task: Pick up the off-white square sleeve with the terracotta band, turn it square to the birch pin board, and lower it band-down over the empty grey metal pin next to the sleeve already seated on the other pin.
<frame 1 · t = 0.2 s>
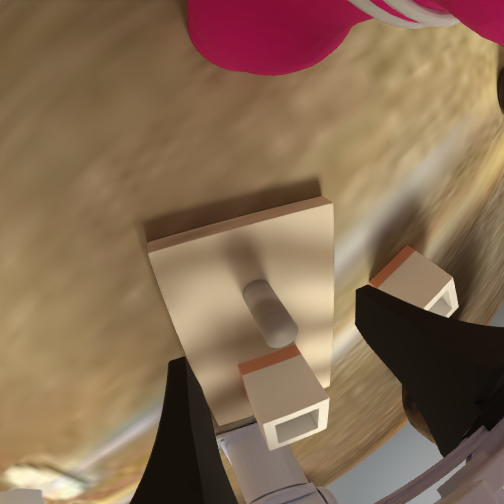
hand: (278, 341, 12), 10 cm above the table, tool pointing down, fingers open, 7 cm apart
seated sleeve: (270, 372, 26), point 1 cm above the table, touching pin board
pin board: (258, 330, 25), on the table
sleeve: (395, 278, 28), on the table
ceramic jug: (427, 344, 38), on the table
pepper mill: (240, 24, 15), on the table
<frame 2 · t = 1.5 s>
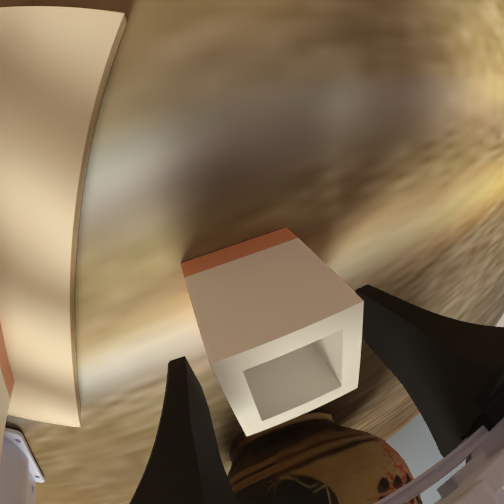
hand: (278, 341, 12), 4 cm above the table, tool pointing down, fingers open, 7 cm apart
sleeve: (246, 288, 15), on the table
ceramic jug: (289, 436, 24), on the table
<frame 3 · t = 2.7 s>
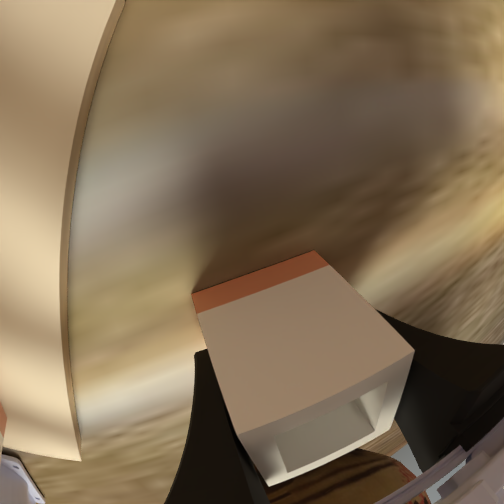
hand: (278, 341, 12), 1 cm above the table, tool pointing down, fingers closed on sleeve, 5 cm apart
sleeve: (266, 319, 13), on the table, touching gripper
ceramic jug: (301, 456, 22), on the table
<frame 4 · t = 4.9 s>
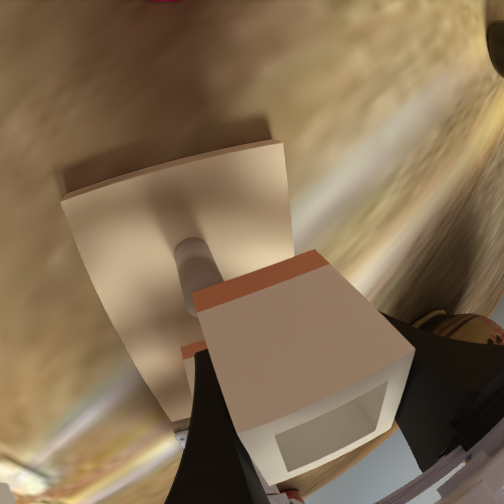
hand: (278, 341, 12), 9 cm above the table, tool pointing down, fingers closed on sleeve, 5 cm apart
seated sleeve: (223, 360, 22), point 1 cm above the table, touching pin board
pin board: (206, 307, 21), on the table
canister: (268, 501, 48), on the table
sleeve: (266, 318, 13), point 7 cm above the table, touching gripper
ceramic jug: (421, 335, 34), on the table
supplement bottle: (499, 49, 19), on the table
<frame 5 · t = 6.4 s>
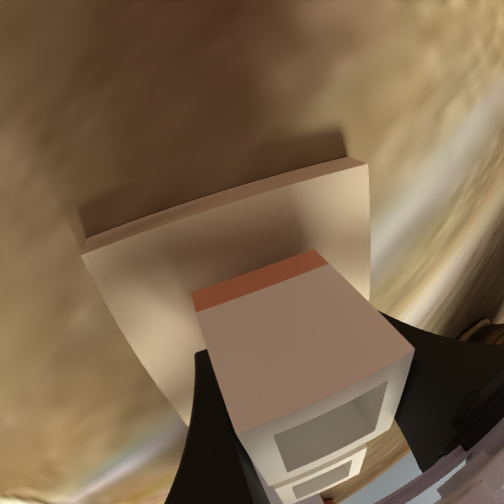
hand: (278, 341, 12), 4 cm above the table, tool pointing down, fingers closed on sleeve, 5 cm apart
seated sleeve: (283, 406, 19), point 1 cm above the table, touching pin board
pin board: (265, 353, 18), on the table
sleeve: (265, 318, 13), point 2 cm above the table, touching gripper
ceramic jug: (464, 345, 30), on the table
when the fingers open (4 cm above the table, at t = 7.5 s): sleeve stays where it is, resting on pin board.
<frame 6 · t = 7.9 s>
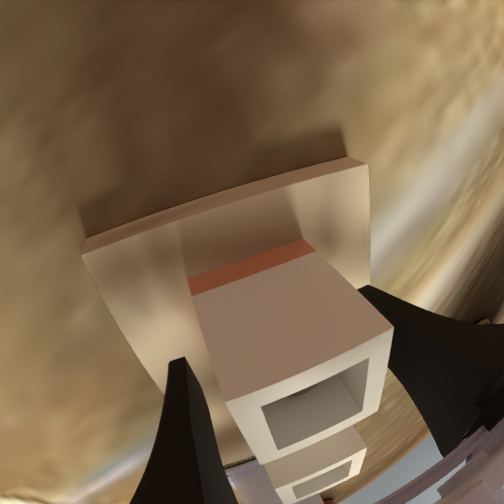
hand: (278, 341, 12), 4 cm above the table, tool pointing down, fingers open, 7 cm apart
seated sleeve: (283, 406, 19), point 1 cm above the table, touching pin board
pin board: (265, 353, 18), on the table
sleeve: (258, 304, 14), point 1 cm above the table, touching pin board
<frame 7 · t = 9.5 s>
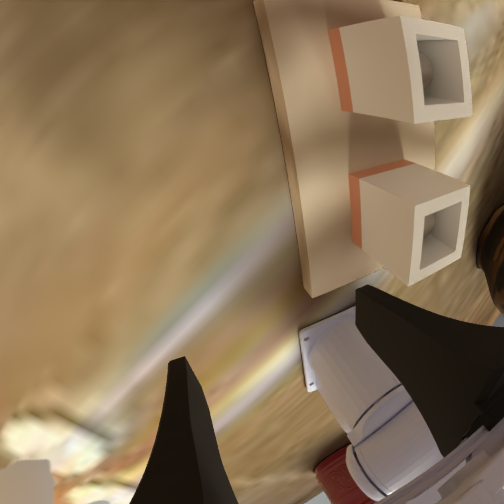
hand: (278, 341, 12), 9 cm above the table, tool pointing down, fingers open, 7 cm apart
seated sleeve: (379, 199, 21), point 1 cm above the table, touching pin board
pin board: (363, 140, 20), on the table
canister: (344, 455, 47), on the table
sleeve: (368, 68, 16), point 1 cm above the table, touching pin board
ceramic jug: (497, 232, 32), on the table
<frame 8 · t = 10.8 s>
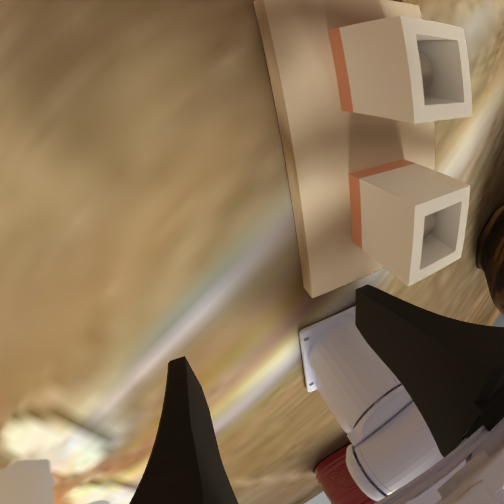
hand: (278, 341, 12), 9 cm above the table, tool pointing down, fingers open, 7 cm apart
seated sleeve: (379, 199, 21), point 1 cm above the table, touching pin board
pin board: (363, 140, 20), on the table
canister: (344, 455, 47), on the table
sleeve: (368, 68, 16), point 1 cm above the table, touching pin board
ceramic jug: (497, 232, 32), on the table
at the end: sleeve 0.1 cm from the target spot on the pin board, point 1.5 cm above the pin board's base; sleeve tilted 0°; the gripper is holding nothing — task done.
